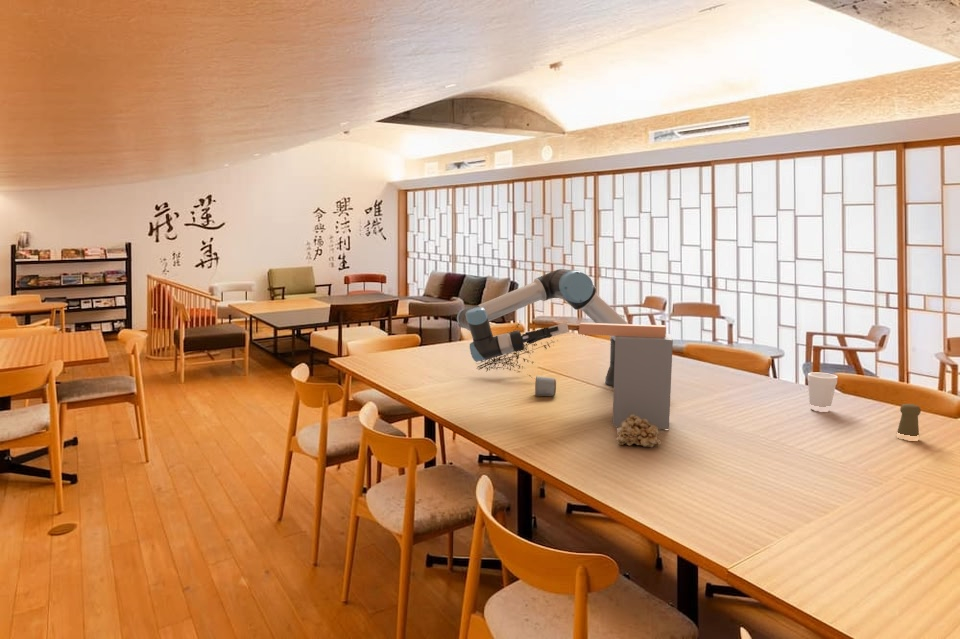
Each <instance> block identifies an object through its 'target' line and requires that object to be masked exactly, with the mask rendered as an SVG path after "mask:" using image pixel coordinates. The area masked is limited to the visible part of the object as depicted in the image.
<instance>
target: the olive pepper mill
mask: <svg viewBox="0 0 960 639" xmlns="http://www.w3.org/2000/svg"><path fill="white" fill-rule="evenodd" d="M899 408H900V410H899V411H900V413H901V417H900V420H899V424H898V427H897V431H896V433H897V432H898V433H900V434H904V435H910V436H917V435H919V436H920V432H919V431H920V430H919V415H920V414H921V411H922V410H921V406H919V405H917V404H914V403H903V404H902V405H900V407H899Z"/></svg>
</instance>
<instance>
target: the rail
mask: <svg viewBox="0 0 960 639" xmlns="http://www.w3.org/2000/svg"><path fill="white" fill-rule="evenodd" d="M578 331H579V332H578V334H579V335H589V336H609V335H611V336H637V337H663V338H666V334H667V332H666V331H667V326H666V325H665V324H662V325H661V324H659V325H658V324H637V323H636V324H633V323H628V324H608V323H595V322H580V323H579V324H578Z"/></svg>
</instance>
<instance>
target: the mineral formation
mask: <svg viewBox="0 0 960 639" xmlns="http://www.w3.org/2000/svg"><path fill="white" fill-rule="evenodd" d="M616 431H617V432H616V434H617V435H618V436H616V441H617V444H618V445H619V446H624V445H627V446H632V445H634V444H635V445H637V446H642V447H643V448H647V447H648V448H653V447H655V445H658V446H659V445H661V444H662V441H661V440H660V439H659V438H658V434H659V433H660V432H659V430H658V428H657V427H656V426H654V425H650V424H649V423H648V421H647V420H646V419H640V418H639V417H638V416H635V415H634V414H633V415H630V416H629V418H626V420H625V421H623V422H622V423H621V426H620V427H617V428H616Z"/></svg>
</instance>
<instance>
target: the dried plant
mask: <svg viewBox="0 0 960 639" xmlns="http://www.w3.org/2000/svg"><path fill="white" fill-rule="evenodd" d="M521 322H522V321H521V320H520V319H519V322H516V324H517V325H515V329H517V328H519V325H520V324H521ZM531 323H532V322H529V323H528V325H527V328H529V327H530V325H531ZM535 329H536V330H540V329H538V328H537V327H536V328H535ZM525 331H526V330H525ZM525 331H524V332H525ZM524 332H523V333H524ZM506 333H509V334H510V332H508V331H507V332H506ZM525 333H526V332H525ZM541 340H543V339H541ZM541 340H538V341H535V342H533V343H524V350H521V351H517V352H516V351H513V353H508V355H510V356H506V354H505V355H502V356H498V357H494V358H491V359H487V360H482V361H480V362H479V361H476V362H475V364H476V365H478V366H476V370H478V371H480V370H482V369H483V368H484V370H486V371H485V372H488V371H491V370H492V369H494V370H495V371H498V370H499V369H500V370H503V367H504V370H505V369H507V370H509V371H511V372H512V370H513V371H514V372H515V371H516V372H517V373H521V371H519V369H521V370H524V369H523V368H524V366H523V365H522V366H521V364H519V361H518V360H519V358H521V357H520V356H521V355H523V354H526V353H527V354H528V357H529V358H531V356H530V355H529V354H532V353H535V352H534V350H537V349H539V348H544V349H545V350H547V346H548V347H549V348H551V346H550V344H551V343H553V347H554V346H555V345H554V343H555V341H553V340H552V339H551V340H550V341H551V342H550V343H549V342H548V341H545V343H546V344H543V343H542V342H540V341H541ZM536 342H540V344H541V345H542V346H539V347H537V348H534V346H535V347H536V346H538V344H537V343H536ZM556 342H559V339H556ZM529 345H531V346H532V349H531V350H529V347H528V346H529ZM520 352H521V353H520ZM514 359H515V360H514ZM522 360H523V363H525V362H526V360H527V362H531V364H532V365H533V364H535V362H534V361H530V360H529V359H527V358H524V357H522ZM513 361H514V362H513ZM477 362H478V363H477ZM496 365H497V366H496ZM506 365H507V366H506ZM515 366H516V367H517V369H515ZM512 367H513V368H512ZM498 368H499V369H498ZM528 377H529V378H533V376H532V375H530V374H528Z"/></svg>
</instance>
